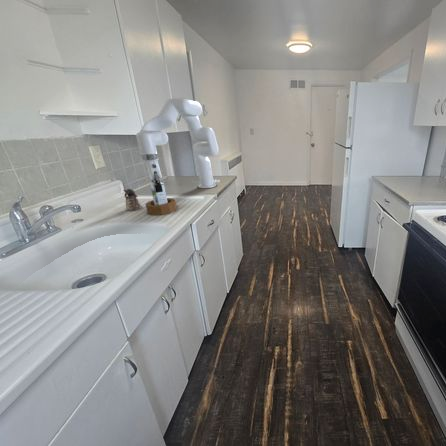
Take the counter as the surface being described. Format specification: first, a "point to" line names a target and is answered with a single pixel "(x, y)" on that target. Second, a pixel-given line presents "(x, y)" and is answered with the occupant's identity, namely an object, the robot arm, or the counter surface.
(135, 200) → the figurine
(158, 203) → the syrup box
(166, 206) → the brown bowl
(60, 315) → the counter surface
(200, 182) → the robot arm
